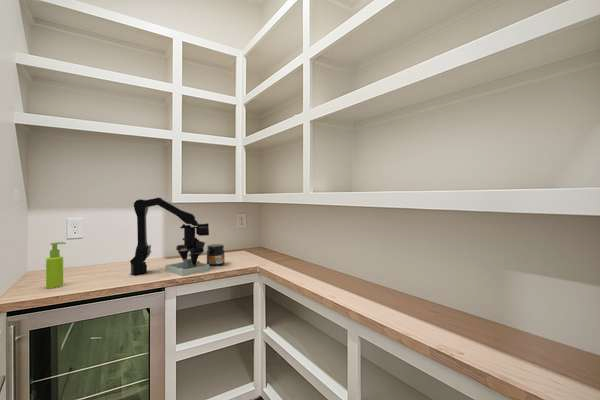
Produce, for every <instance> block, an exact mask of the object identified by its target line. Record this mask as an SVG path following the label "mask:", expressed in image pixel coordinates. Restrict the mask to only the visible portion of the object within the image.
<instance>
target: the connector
mask: <svg viewBox="0 0 600 400" xmlns="http://www.w3.org/2000/svg"><path fill="white" fill-rule="evenodd" d="M182 262H183V270H185V269H190V268H195V267H196V265H194V266H193V263H192V260H191V257H190V258H189V257H188V258H187V259H183V260H182ZM199 263H201V262H200V261H199V260H197V262H196V264H199Z"/></svg>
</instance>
